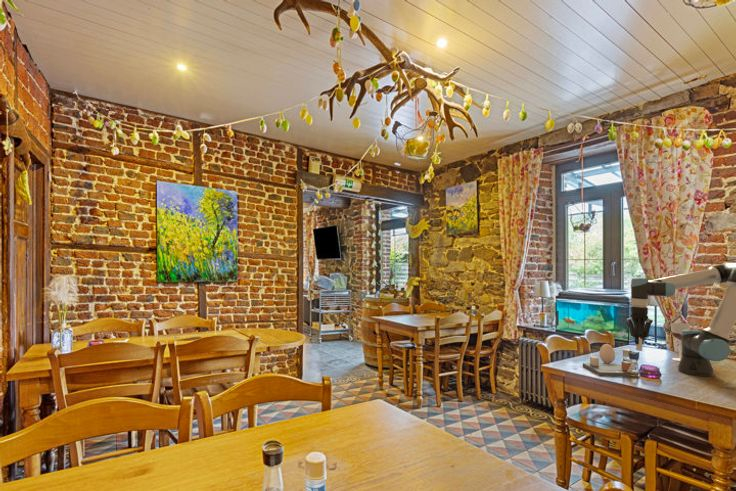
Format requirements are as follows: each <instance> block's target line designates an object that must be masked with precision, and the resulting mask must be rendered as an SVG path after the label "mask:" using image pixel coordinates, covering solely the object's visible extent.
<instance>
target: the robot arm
mask: <svg viewBox="0 0 736 491" xmlns="http://www.w3.org/2000/svg"><path fill="white" fill-rule="evenodd" d="M712 283H715V284H716V285H717V284H725V283H726V285H727V288H726V290H725V292H724V295H723V296H722V299H721V300H720V302H719V304H718V307H716V308H717V309H716V310H715V312H714V314H713V316H712V318H711V320H710V322H709V323H708V326H707V327H706V328H702V329H701V330H694V329H693V330H692V329H689V330H683V331H682V335H681V338H682V339H681V360H680V361H679V363H678V365H677V370H678V371H679V372H681V373H682V374H686V375H687V374H688V375H692V376H697V377H714V376H715V374H714V373H715V372H714V371H715V370H714V369H713V366H712V364H711V361H712V362H720V361H724V360H726V359H727V358H729V356H730V355H731V347H730V343H731V338H730V336H729V335H730V333H731V331H732V329H733V327H734V326H735V325H736V324H735V323H736V260H735V261H729V262H724V263H721V264H717V265H712V266H710V267H709V268H707V269H702V270H697V271H691V272H687V273H686V272H685V273H682V274H681V273H680V274H676V275H672V276H666V277H661V278H657V279H650V280H649V279H648V277H632V278H631V281H630V295H631V296H630V304H631V306H630V313H631V315H630V317H628V318H626V319H625V321H626V322H627V325H628V329H629V333H630V336H631V337H633V338H634V344H635V345H636V346H635V349H636V351H639V352H643V345H644V344H645V343H644V342H645V339H646V338H649V333H650V329H651V325H652V323H653V322H654V321H653V319H650V318H649V316H648V315H649V308H648V306H649V297H651V296H652V297H666V298H668V297H673V296H675V293H676V290H680V289H685V288H691V287H696V286H702V285H707V284H712Z"/></svg>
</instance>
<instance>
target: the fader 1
mask: <svg viewBox="0 0 736 491" xmlns="http://www.w3.org/2000/svg"><path fill="white" fill-rule="evenodd" d="M589 363H590V364H591V365H593V366H599V363H600V357H597V356H589Z"/></svg>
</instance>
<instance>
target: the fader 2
mask: <svg viewBox="0 0 736 491" xmlns="http://www.w3.org/2000/svg"><path fill="white" fill-rule="evenodd" d="M631 363H632V362H629V361H628V360H627V361H625V360H623V361H621V364H620V365H622V369H623V370H625V371H628V369H629V367H630V365H631Z"/></svg>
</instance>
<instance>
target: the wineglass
mask: <svg viewBox="0 0 736 491" xmlns="http://www.w3.org/2000/svg"><path fill="white" fill-rule="evenodd" d="M670 330H671V334H672V337H674V338H675V339H677V340H678V345H679V346H678V348H679V350H678V352H679V357H672V358H671V360H674V361H679V362H680V360H681V357H682V338H681V335H682V331H683V330H690V324H689V323H683V322H670Z"/></svg>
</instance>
